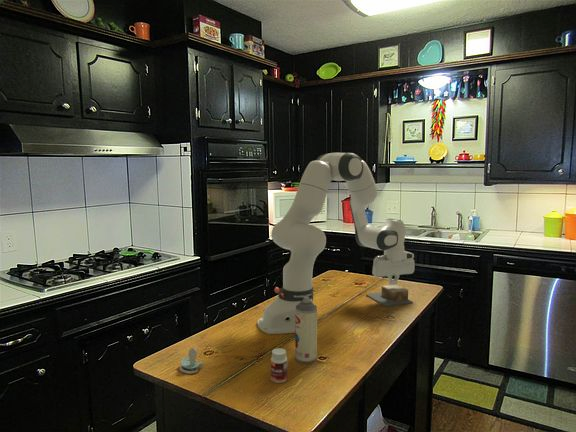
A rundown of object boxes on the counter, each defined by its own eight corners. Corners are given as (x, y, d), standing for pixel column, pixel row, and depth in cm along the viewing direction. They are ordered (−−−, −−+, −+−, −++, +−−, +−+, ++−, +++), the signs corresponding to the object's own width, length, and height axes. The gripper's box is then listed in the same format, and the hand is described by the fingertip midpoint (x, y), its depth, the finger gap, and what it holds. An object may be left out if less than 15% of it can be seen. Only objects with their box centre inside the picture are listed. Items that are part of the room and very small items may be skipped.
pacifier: (193, 377, 120) (206, 367, 125) (192, 357, 119) (205, 348, 124) (174, 371, 123) (188, 362, 128) (173, 351, 122) (187, 343, 127)
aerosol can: (294, 353, 134) (294, 293, 131) (315, 353, 134) (316, 293, 132) (295, 363, 127) (295, 301, 125) (317, 363, 127) (318, 300, 125)
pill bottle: (267, 381, 117) (267, 353, 116) (275, 373, 121) (275, 346, 120) (283, 384, 115) (283, 356, 114) (290, 376, 119) (290, 349, 118)
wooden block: (393, 291, 182) (408, 289, 185) (381, 286, 190) (396, 284, 193) (392, 301, 183) (408, 299, 185) (381, 295, 191) (396, 293, 194)
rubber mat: (385, 306, 177) (385, 305, 177) (366, 295, 192) (366, 294, 192) (412, 302, 182) (412, 301, 182) (391, 292, 197) (391, 291, 197)
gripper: (377, 257, 179) (376, 288, 181) (417, 254, 186) (416, 284, 188) (370, 254, 185) (369, 284, 187) (408, 251, 192) (407, 280, 193)
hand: (393, 284), depth 187 cm, fingers closed
